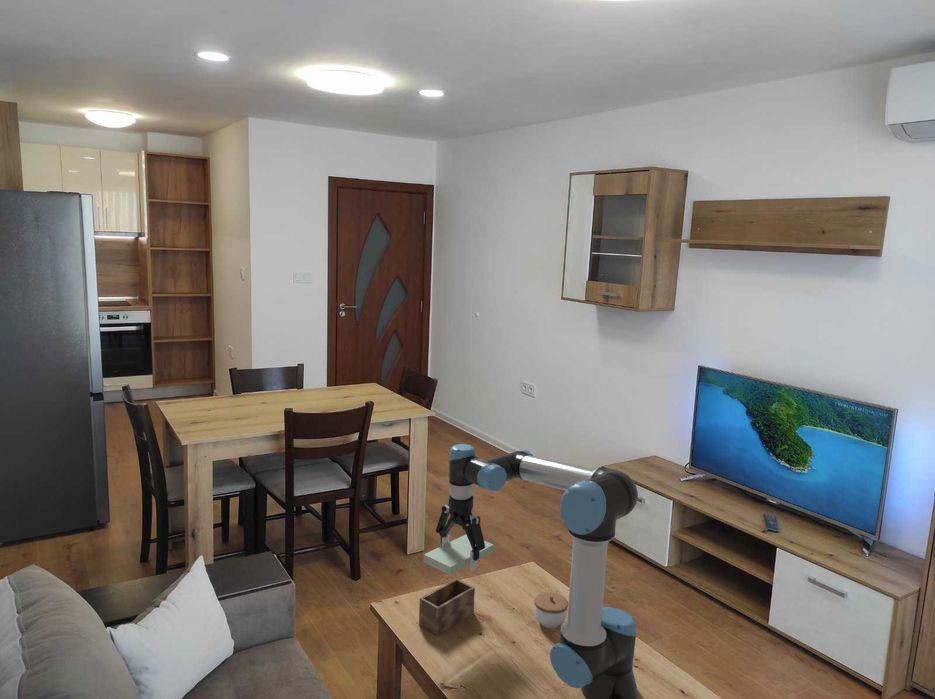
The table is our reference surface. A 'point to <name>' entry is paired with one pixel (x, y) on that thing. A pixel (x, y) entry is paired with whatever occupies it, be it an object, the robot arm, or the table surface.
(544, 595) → the lidded jar
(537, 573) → the table surface
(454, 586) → the box
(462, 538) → the lid
